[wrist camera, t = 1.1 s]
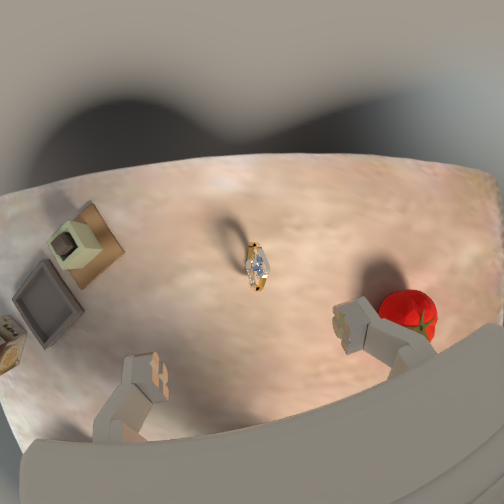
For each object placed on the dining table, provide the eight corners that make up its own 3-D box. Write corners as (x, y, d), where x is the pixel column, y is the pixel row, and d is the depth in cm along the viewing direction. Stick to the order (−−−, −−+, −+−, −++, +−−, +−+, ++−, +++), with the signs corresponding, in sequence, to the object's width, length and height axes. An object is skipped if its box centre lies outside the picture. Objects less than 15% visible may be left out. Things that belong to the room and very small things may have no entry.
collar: (103, 249, 41) (85, 248, 34) (82, 268, 40) (62, 269, 33) (84, 219, 40) (64, 213, 34) (64, 238, 40) (43, 235, 33)
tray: (84, 310, 41) (78, 313, 39) (51, 346, 40) (44, 349, 37) (49, 259, 40) (42, 259, 38) (19, 297, 39) (11, 299, 37)
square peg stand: (125, 252, 42) (101, 251, 32) (83, 289, 41) (53, 296, 31) (94, 204, 42) (66, 192, 32) (55, 241, 41) (22, 238, 31)
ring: (242, 242, 45) (247, 239, 37) (262, 244, 45) (272, 241, 37) (239, 287, 44) (244, 294, 37) (260, 288, 45) (269, 295, 37)
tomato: (394, 273, 48) (430, 276, 38) (422, 313, 49) (456, 321, 39) (353, 321, 47) (384, 335, 37) (385, 358, 48) (416, 376, 37)
